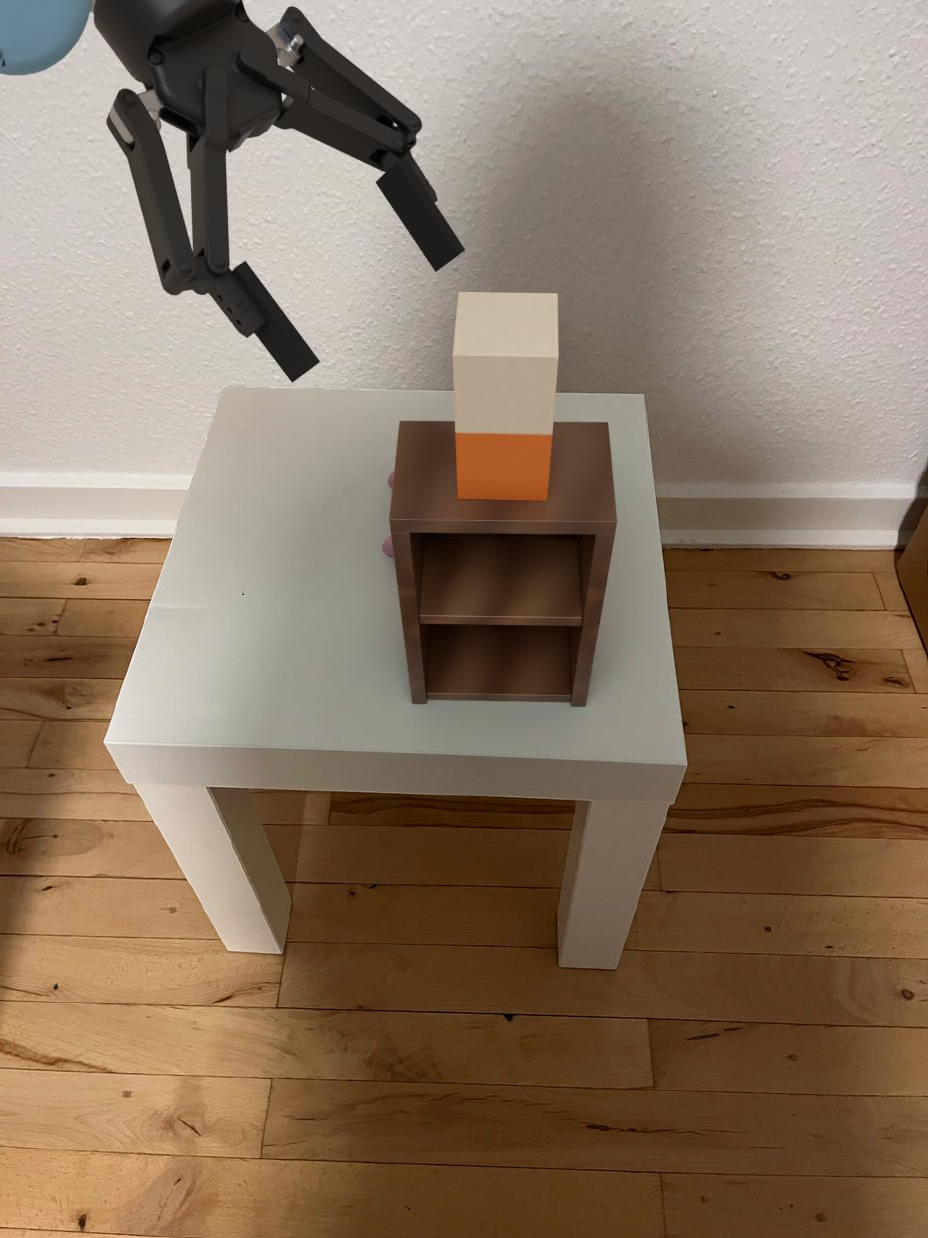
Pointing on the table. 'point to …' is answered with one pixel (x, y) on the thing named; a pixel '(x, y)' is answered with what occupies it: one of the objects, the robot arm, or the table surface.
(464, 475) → the cream and orange block
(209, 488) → the table surface
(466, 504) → the shelf
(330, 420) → the table surface
